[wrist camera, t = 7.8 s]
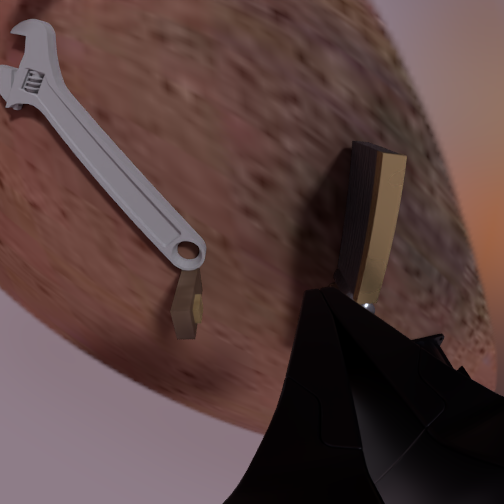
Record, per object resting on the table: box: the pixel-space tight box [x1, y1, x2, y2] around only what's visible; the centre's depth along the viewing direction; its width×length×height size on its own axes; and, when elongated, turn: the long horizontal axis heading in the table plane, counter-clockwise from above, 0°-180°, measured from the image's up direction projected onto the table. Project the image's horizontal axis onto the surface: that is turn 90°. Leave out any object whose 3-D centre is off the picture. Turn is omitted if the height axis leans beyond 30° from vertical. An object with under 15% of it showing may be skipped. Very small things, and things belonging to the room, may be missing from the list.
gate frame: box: [170, 268, 339, 339], centre depth 21 cm, size 14×3×6 cm, turn 81°
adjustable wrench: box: [0, 19, 206, 270], centre depth 16 cm, size 25×6×2 cm, turn 32°
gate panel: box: [334, 141, 407, 314], centre depth 18 cm, size 11×2×5 cm, turn 0°
